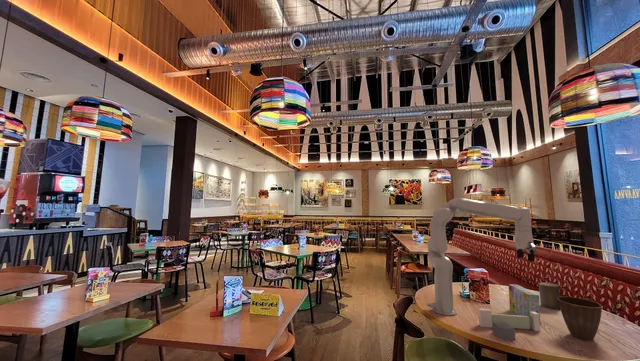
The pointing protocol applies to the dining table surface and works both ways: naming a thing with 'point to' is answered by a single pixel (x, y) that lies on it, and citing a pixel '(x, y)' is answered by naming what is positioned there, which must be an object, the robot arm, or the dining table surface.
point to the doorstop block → (504, 330)
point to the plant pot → (580, 316)
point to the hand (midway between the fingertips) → (525, 259)
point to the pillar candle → (549, 295)
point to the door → (513, 320)
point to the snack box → (523, 301)
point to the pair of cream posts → (486, 319)
